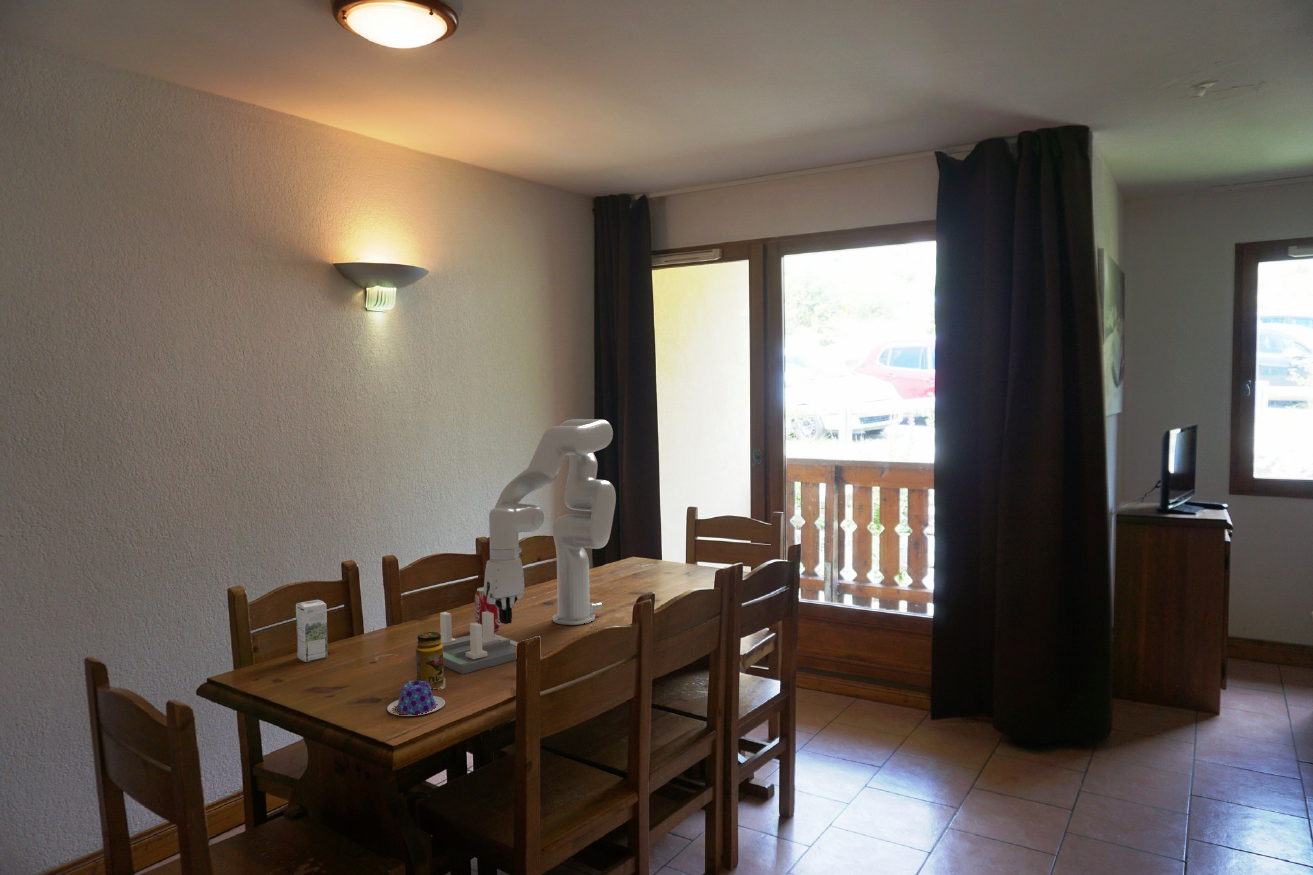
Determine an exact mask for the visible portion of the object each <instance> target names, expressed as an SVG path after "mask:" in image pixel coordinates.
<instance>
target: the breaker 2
mask: <svg viewBox="0 0 1313 875" xmlns="http://www.w3.org/2000/svg"><path fill="white" fill-rule="evenodd" d="M469 635H470V651H469V652H466V657H469V658H471V659H477V658H481V657H485V656H487V652H486V651H484V650H482V625H481V624H478V623H475V622H470V623H469Z"/></svg>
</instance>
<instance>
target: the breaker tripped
mask: <svg viewBox="0 0 1313 875" xmlns="http://www.w3.org/2000/svg"><path fill="white" fill-rule="evenodd" d="M482 632H483V638H482V645H486V644H490V643H494V642H499V639H497V638H494V634H495V631H494V613H491V612H488V611H486V612H482Z"/></svg>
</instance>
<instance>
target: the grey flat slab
mask: <svg viewBox="0 0 1313 875" xmlns="http://www.w3.org/2000/svg"><path fill="white" fill-rule="evenodd" d="M482 638H483V632H482ZM494 638H497V639H499V642H494V643H490V644H486V645H482V650H484V651H486V652H487V656H485V657H481V658H477V659H471V658H469V657H466V652H469V651H470V634H468V635H464V636H461V637H456V638H454V639H456V640H457V642H454V643H450V644H446V645H442V646H443V667H446V668H448V669H450V670H453V671H455V672H457V673H459V674H461V675H464V674H467V673H468V674H469V673H471V672H475V671H480V670H483V669H487V668H491V667H495V666H498V665H502V664H503V665H504V664H506V663H510V662H513V661H517V660H516V648H517V643H519V642H518V641H515V640H512V639H509V638H506V637H504V636H501V635H498V634H495V633H494Z"/></svg>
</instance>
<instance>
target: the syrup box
mask: <svg viewBox="0 0 1313 875" xmlns="http://www.w3.org/2000/svg"><path fill="white" fill-rule="evenodd" d="M327 616H328V614H327V603H325V602H324V601H323V600H320V599H313V600H309V601H308V600H307V601H303V602H298V603H297V602H296V604H295V623H296V624H295V625H296V630H295V631H296V657H297V659H299V660H300V661H302V662H305V663H309V662H313V661H317V660H321V659H322V660H323V659H327V658H328V627H327V626H328V624H327V623H328V622H327V620H328V617H327Z"/></svg>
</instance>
